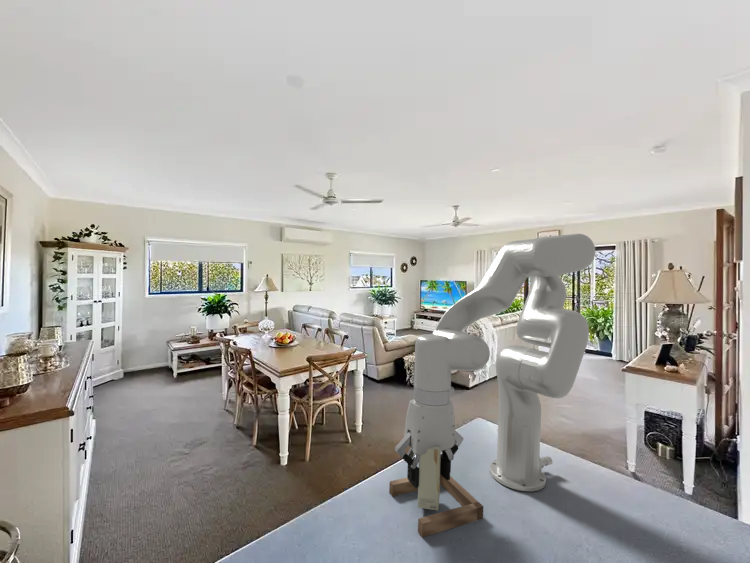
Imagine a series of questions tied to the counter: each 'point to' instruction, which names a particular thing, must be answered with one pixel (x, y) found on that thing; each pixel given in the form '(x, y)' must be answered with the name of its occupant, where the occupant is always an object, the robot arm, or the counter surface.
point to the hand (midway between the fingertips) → (429, 479)
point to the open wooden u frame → (448, 518)
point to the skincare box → (429, 479)
